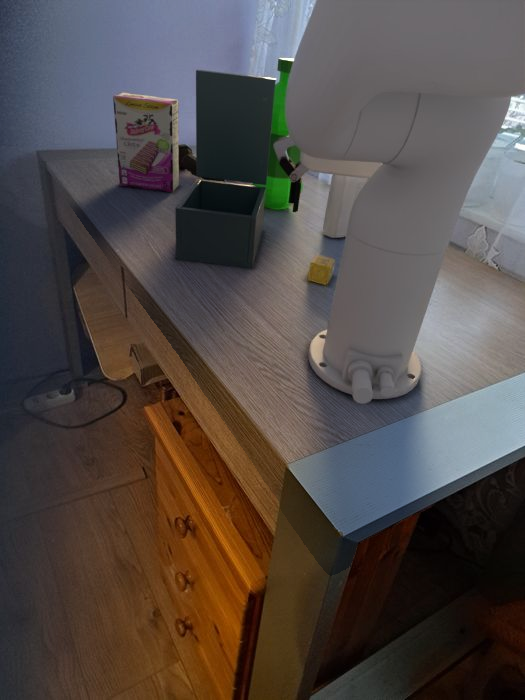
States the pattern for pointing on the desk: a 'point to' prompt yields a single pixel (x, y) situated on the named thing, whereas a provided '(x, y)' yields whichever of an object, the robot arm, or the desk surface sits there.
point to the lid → (233, 126)
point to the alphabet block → (321, 269)
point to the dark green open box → (220, 223)
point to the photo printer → (341, 204)
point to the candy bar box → (147, 141)
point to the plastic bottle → (276, 175)
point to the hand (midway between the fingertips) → (330, 213)
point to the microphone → (189, 161)
